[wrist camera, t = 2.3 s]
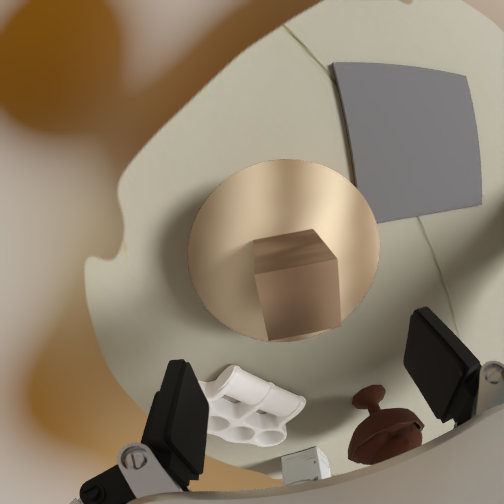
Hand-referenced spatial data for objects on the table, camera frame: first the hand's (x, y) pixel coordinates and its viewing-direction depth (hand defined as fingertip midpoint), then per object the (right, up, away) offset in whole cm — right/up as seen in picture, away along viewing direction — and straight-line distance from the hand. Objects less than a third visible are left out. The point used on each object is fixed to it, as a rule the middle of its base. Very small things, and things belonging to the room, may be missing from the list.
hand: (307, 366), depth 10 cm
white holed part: (-4, -17, +24) cm, 30 cm away
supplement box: (+8, -35, +31) cm, 47 cm away
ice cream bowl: (+15, -17, +24) cm, 34 cm away
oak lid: (0, +4, +11) cm, 12 cm away
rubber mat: (+16, +16, +12) cm, 25 cm away
